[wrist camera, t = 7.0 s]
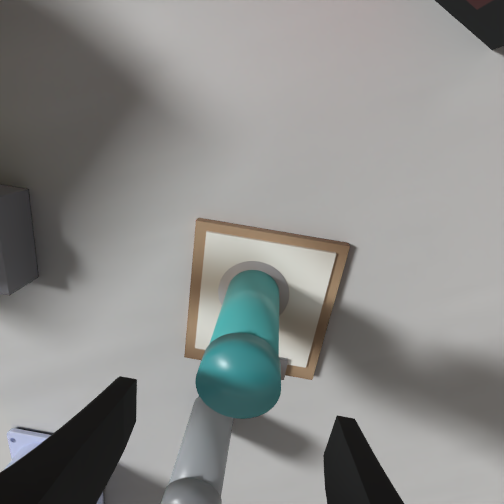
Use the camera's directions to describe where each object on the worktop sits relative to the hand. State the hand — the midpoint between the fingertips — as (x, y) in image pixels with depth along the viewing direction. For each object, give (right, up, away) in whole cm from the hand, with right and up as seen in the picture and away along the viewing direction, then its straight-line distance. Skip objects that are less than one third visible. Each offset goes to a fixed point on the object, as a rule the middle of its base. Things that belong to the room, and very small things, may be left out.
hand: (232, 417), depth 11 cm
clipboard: (+1, +3, +10) cm, 10 cm away
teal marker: (+1, +3, +8) cm, 9 cm away
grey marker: (-2, -6, +13) cm, 15 cm away
